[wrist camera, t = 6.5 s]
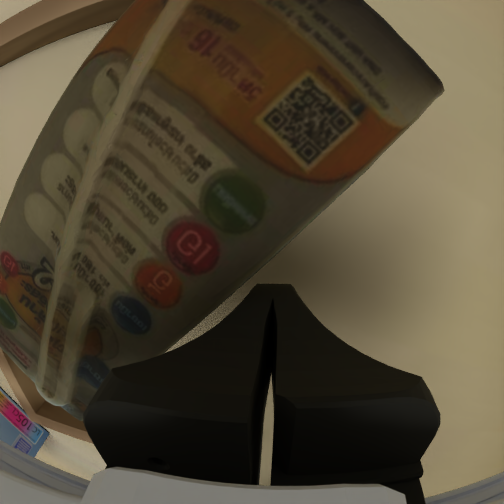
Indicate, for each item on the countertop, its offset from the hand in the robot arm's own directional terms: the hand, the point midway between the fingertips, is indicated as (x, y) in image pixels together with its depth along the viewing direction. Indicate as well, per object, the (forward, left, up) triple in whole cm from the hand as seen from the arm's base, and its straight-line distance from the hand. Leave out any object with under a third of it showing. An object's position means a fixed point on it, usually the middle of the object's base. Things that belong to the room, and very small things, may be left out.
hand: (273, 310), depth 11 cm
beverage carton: (+3, +5, -4) cm, 7 cm away
